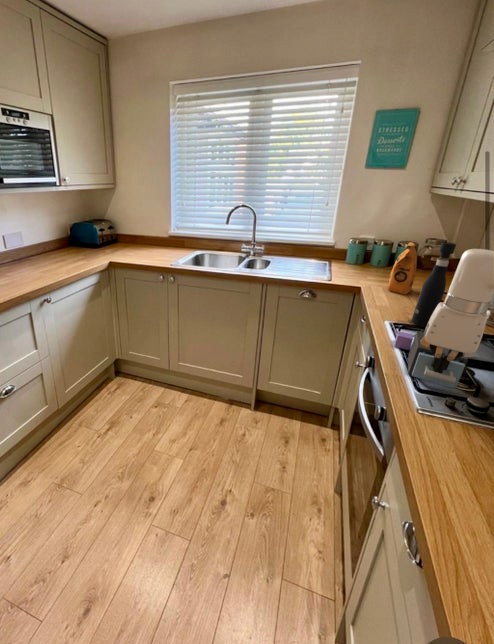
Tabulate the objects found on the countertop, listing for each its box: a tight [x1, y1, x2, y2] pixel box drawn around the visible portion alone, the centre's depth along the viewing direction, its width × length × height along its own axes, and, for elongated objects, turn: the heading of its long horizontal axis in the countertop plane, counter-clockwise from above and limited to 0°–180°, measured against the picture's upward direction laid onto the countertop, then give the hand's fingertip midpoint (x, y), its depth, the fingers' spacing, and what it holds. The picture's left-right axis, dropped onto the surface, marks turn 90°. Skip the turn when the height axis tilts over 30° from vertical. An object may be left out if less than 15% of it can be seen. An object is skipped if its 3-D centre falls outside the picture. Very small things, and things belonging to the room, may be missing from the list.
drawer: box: [411, 351, 466, 389], centre depth 87 cm, size 15×9×7 cm, turn 148°
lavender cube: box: [394, 330, 414, 351], centre depth 105 cm, size 4×4×4 cm
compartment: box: [407, 330, 469, 388], centre depth 91 cm, size 12×11×9 cm
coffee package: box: [387, 241, 418, 295], centre depth 152 cm, size 10×12×22 cm
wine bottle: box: [410, 241, 457, 328], centre depth 116 cm, size 6×6×30 cm
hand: (437, 370), depth 83 cm, fingers closed
